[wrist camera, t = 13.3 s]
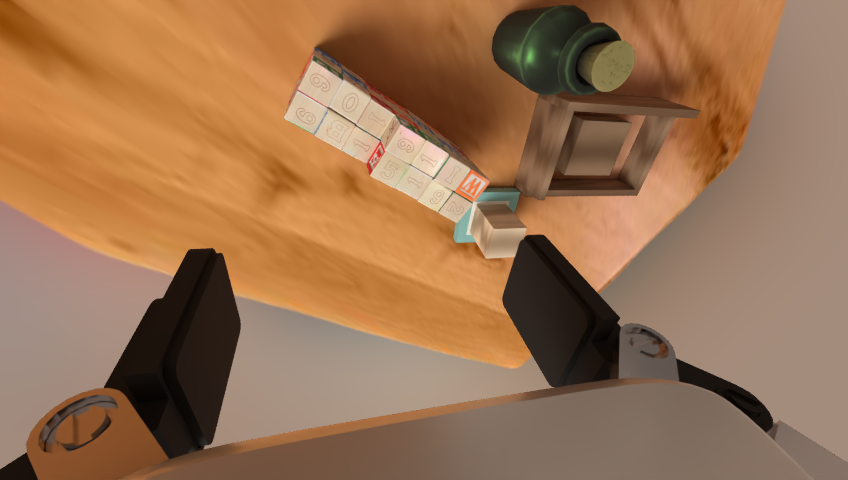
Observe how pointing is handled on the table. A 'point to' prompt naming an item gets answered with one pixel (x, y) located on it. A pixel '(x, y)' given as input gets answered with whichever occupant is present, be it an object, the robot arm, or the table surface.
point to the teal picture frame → (486, 197)
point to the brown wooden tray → (592, 143)
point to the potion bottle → (561, 51)
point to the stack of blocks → (384, 137)
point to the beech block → (497, 230)
